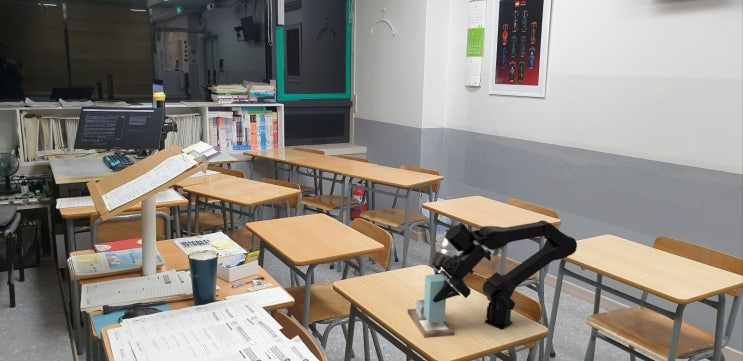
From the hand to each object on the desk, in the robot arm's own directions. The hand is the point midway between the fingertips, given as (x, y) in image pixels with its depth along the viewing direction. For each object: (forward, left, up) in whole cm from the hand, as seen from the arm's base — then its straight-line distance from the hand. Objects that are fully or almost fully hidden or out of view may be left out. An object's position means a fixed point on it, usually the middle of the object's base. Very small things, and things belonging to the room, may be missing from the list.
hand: (430, 298), depth 158 cm
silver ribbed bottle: (+20, -34, -10) cm, 41 cm away
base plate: (+2, -3, -10) cm, 11 cm away
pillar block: (-1, -1, -7) cm, 7 cm away
